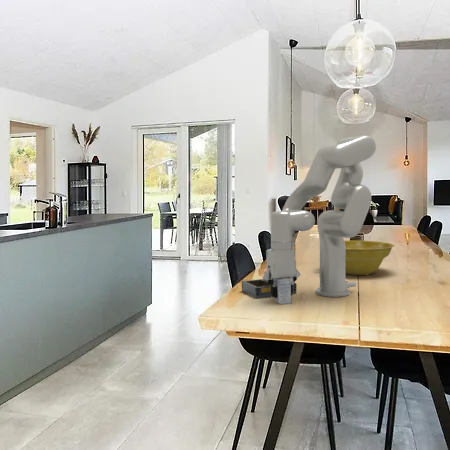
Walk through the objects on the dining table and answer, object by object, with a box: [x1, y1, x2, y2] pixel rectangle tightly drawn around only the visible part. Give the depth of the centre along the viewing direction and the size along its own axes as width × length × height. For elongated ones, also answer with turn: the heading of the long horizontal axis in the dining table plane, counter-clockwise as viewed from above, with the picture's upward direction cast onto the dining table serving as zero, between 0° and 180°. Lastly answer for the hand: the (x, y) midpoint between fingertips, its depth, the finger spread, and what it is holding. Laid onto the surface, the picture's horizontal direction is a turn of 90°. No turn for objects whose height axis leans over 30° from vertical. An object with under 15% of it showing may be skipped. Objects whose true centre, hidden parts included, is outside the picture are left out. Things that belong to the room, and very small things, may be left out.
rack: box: [241, 271, 298, 299], centre depth 181 cm, size 17×13×7 cm
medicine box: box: [272, 278, 292, 305], centre depth 168 cm, size 8×4×9 cm, turn 9°
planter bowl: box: [344, 240, 395, 276], centre depth 217 cm, size 32×32×13 cm
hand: (281, 295), depth 168 cm, fingers closed on medicine box, 5 cm apart
